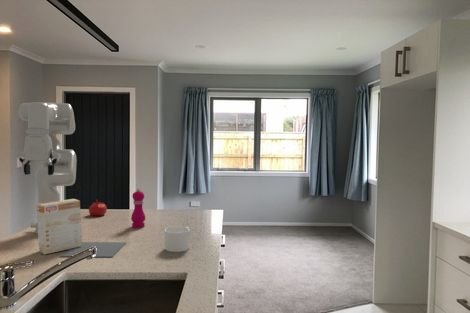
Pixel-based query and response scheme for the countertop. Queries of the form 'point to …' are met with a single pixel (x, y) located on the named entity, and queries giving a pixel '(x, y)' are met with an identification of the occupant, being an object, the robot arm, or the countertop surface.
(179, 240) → the mug
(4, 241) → the countertop surface
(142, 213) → the pepper mill
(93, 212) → the pomegranate
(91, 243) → the mat
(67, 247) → the coffeecake box
